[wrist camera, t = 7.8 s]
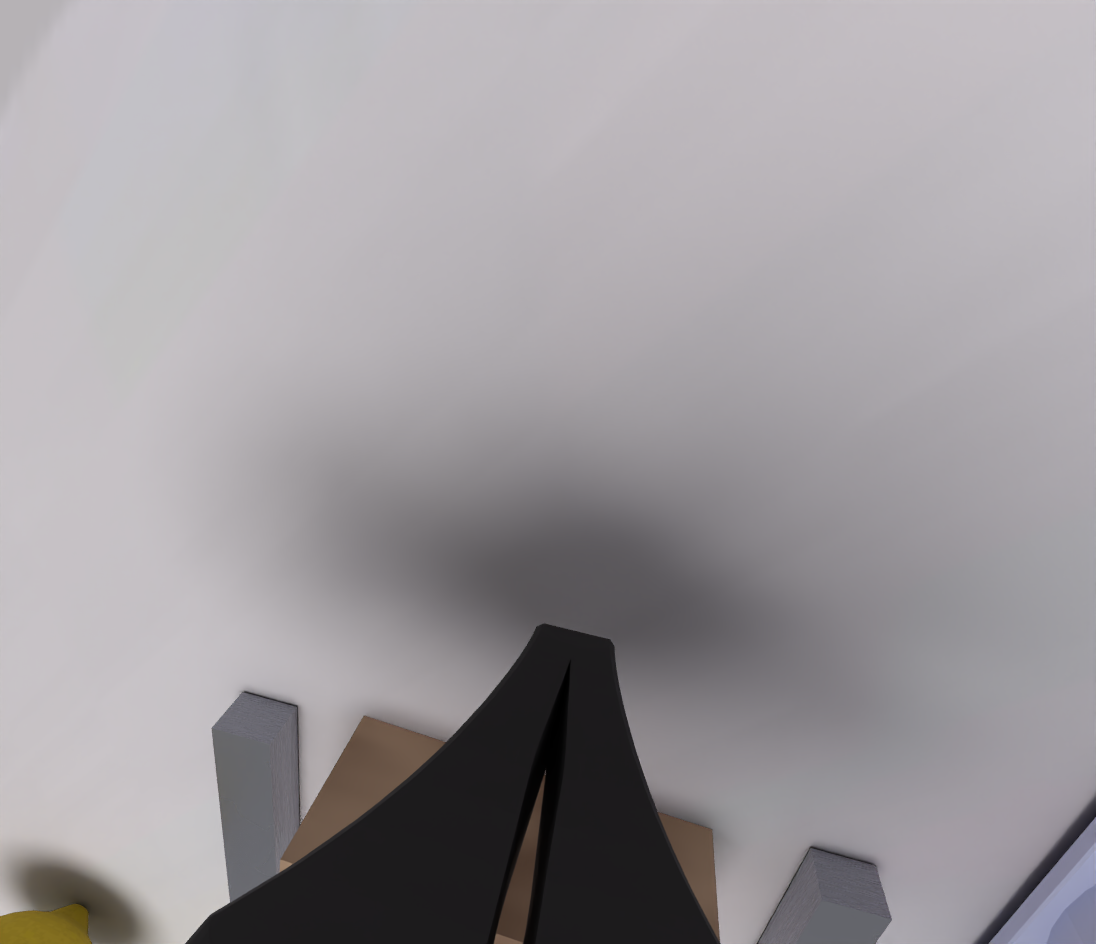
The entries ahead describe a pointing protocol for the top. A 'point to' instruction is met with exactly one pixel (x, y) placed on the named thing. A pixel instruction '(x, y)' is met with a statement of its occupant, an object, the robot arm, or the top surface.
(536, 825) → the block
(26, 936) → the lemon
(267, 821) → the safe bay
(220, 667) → the top surface
